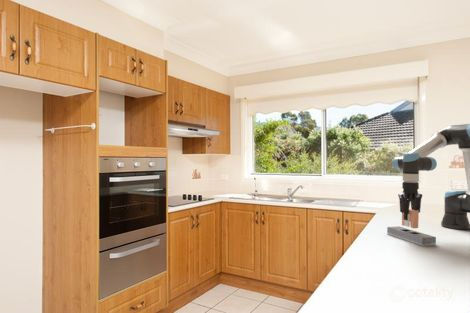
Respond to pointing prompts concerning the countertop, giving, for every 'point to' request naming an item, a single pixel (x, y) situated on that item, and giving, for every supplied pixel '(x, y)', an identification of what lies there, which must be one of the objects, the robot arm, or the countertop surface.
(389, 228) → the rail
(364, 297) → the countertop surface
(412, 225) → the tall peach block
